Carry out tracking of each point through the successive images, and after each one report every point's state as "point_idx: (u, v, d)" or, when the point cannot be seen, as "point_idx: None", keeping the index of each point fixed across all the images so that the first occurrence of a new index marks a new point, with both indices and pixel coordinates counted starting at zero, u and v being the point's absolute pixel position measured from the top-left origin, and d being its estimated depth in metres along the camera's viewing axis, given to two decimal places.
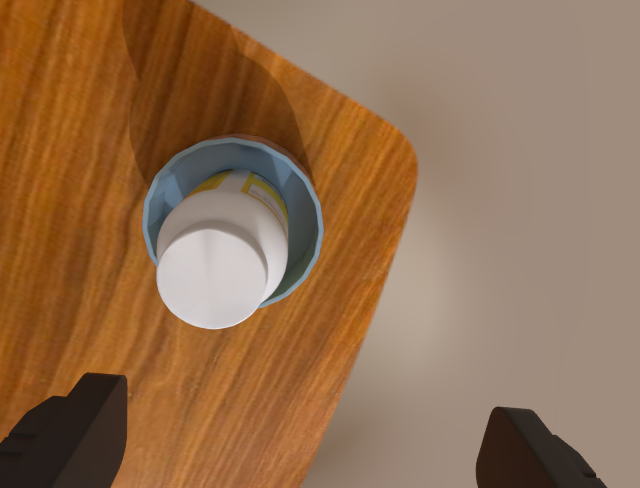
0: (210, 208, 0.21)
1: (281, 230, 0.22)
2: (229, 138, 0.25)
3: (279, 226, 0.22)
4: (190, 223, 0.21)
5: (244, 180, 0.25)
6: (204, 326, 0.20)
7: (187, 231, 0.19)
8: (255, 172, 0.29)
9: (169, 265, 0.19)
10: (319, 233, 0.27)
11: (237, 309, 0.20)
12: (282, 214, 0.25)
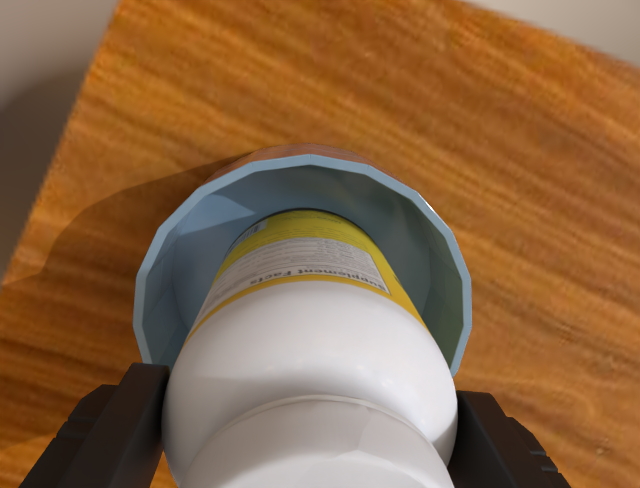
0: (183, 472, 0.09)
1: (249, 304, 0.09)
2: (134, 329, 0.14)
3: (238, 308, 0.09)
4: None
5: None
6: None
7: None
8: None
9: None
10: (316, 163, 0.13)
11: None
12: (256, 255, 0.12)
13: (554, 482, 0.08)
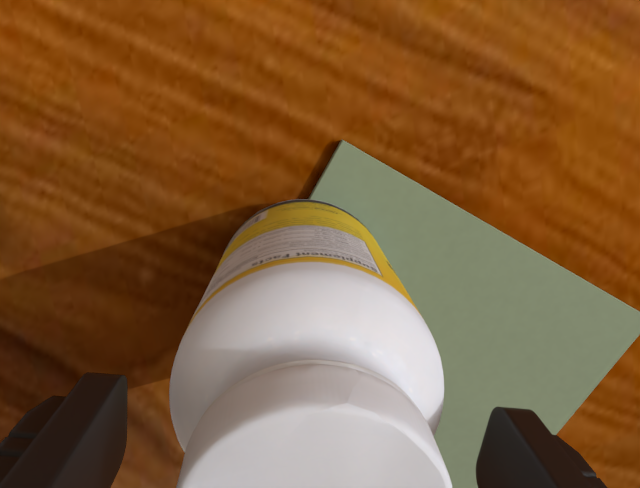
0: (190, 438, 0.10)
1: (250, 282, 0.10)
2: None
3: (241, 286, 0.10)
4: None
5: None
6: None
7: None
8: None
9: None
10: None
11: (403, 474, 0.07)
12: (257, 242, 0.12)
13: None
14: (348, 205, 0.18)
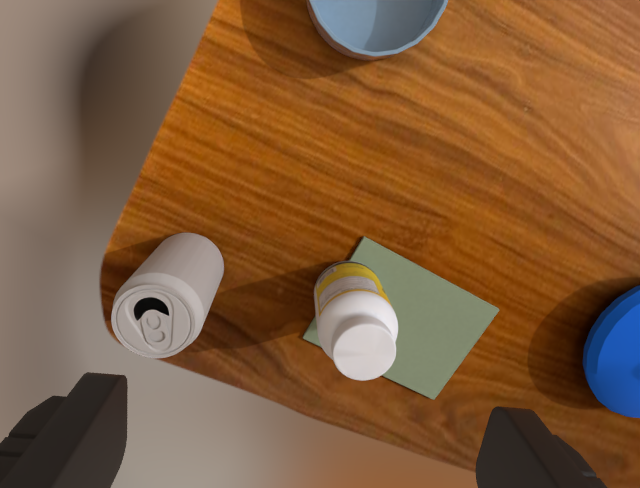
0: (326, 340, 0.35)
1: (343, 296, 0.35)
2: None
3: (340, 298, 0.35)
4: None
5: (317, 301, 0.39)
6: (393, 357, 0.33)
7: None
8: (316, 281, 0.42)
9: (353, 374, 0.33)
10: None
11: (384, 340, 0.32)
12: (338, 282, 0.37)
13: None
14: (366, 262, 0.43)
